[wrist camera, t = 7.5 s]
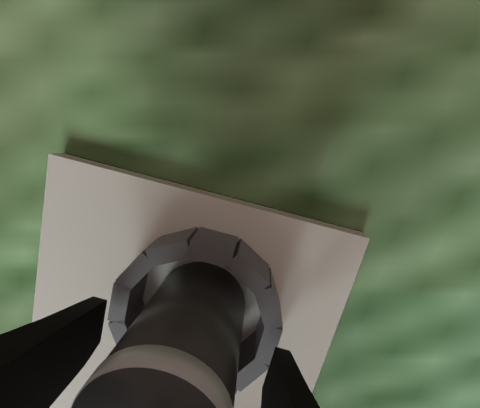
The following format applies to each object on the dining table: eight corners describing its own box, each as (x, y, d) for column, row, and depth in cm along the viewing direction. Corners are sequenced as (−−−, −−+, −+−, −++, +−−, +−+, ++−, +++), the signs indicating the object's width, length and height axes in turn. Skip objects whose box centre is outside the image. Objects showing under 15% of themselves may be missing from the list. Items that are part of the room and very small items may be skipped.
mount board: (260, 511, 18) (259, 580, 15) (31, 444, 19) (-12, 499, 16) (362, 232, 14) (389, 254, 11) (63, 153, 14) (12, 154, 11)
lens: (232, 351, 15) (206, 526, 8) (150, 326, 15) (55, 477, 8) (256, 276, 14) (251, 400, 7) (169, 249, 14) (79, 346, 7)
